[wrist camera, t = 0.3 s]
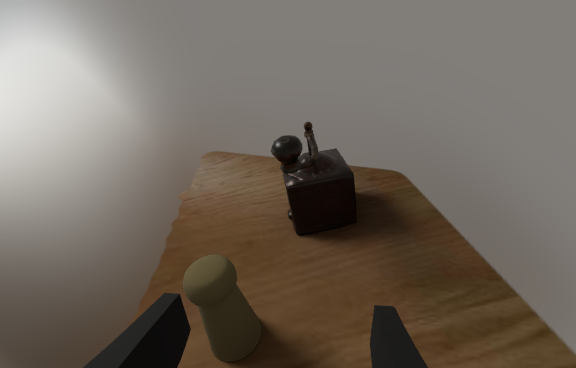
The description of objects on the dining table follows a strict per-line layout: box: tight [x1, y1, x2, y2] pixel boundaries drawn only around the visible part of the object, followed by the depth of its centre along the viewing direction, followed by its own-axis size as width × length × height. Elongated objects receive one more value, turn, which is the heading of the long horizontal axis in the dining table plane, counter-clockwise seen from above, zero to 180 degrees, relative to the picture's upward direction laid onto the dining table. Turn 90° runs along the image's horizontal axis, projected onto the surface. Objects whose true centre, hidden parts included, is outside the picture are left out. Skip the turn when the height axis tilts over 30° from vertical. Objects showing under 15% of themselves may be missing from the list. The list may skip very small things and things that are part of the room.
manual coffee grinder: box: [271, 122, 357, 235], centre depth 44 cm, size 16×11×18 cm
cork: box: [183, 254, 262, 362], centre depth 30 cm, size 6×6×11 cm
